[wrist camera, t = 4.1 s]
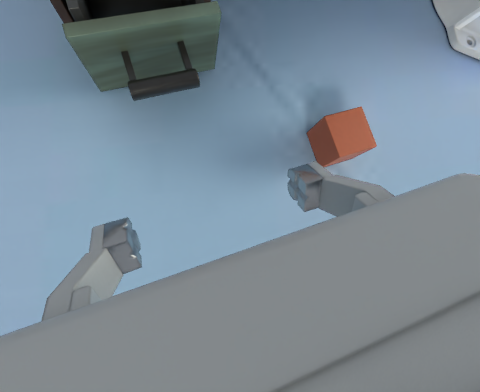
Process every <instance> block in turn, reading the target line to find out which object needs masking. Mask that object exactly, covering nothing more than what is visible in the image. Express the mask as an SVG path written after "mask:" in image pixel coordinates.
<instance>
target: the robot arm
mask: <svg viewBox="0 0 480 392" xmlns="http://www.w3.org/2000/svg"><path fill="white" fill-rule="evenodd" d="M433 3H434V6H435V9H436V11H437V13H438V15H439V17H440V18H441V20H442V22H443V23H444V25H445V27H446V29H447V34H448V38H449V41H450V44H451V46H452V47H453V48H454V49H455V50H456V51H459V52H461V53H463V54H466V55H468V56H471V57H473V58H476V59H478V60H480V0H433ZM288 177H289V178H290V180H289V182H288V191H289V194H290V196H291V197H292V198H293V200H296V201H298V206H299V207H300V208H301V209H302V210H303V211H304V212H306V211H309V210H313V209H316V208H319V209H321V210H324V211H326V212H328V213H330V214H332V215H335V216H337V217H335V218H333V219H330V220H327V221H324V222H321V223H318V224H316V225H313V226H310V227H307V228H304V229H301V230H299V231H296V232H293V233H290V234H287V235H284V236H282V237H279V238H276V239H273V240H270V241H267V242H265V243H262V244H259V245H256V246H253V247H251V248H248V249H245V250H242V251H239V252H237V253H234V254H231V255H228V256H225V257H222V258H220V259H217V260H214V261H211V262H208V263H205V264H203V265H200V266H197V267H194V268H191V269H189V270H186V271H183V272H180V273H177V274H174V275H172V276H169V277H166V278H163V279H160V280H157V281H155V282H152V283H149V284H146V285H143V286H140V287H138V288H135V289H132V290H129V291H126V292H123V293H121V294H118V295H115V296H113V294H114V292H115V290H116V288H117V286H118V284H119V282H120V281H121V279H122V277H123V274H125V273H128V272H130V271H133V270H136V269H138V268H141V267H142V260H141V255H140V253H139V251H140V249H141V248H140V242H139V238H138V235H137V233H136V231H135V230H133V229H132V223H131V221H130V219H129V218H128V217H127V218H123V219H120V220H116V221H112V222H109V223H105V224H102V225H98V226H95V227H93V228H92V233H91V241H90V249H89V253H87V254H85V255H84V256H83V257H82V259H81V260H80V261H79V262H78V263H77V264H76V266H75V267H74V268H73V269H72V270H71V271H70V272H69V274H68V275H67V276H66V277H65V278H64V279H63V281H62V282H61V283H60V284H59V285H58V286H57V287H56V289H55V290H54V291H53V292H52V293H51V294H50V296H49V297H48V298H47V301H46V305H45V309H44V313H43V317H42V321H41V322H39V323H36V324H33V325H30V326H27V327H25V328H22V329H19V330H16V331H13V332H10V333H8V334H5V335H2V336H0V392H480V175H475V174H467V173H462V174H457V175H454V176H451V177H448V178H445V179H442V180H440V181H437V182H434V183H431V184H428V185H426V186H423V187H420V188H417V189H414V190H411V191H409V192H406V193H403V194H400V195H397V196H394V195H392V194H391V193H390V192H388V191H387V190H386V189H384V188H383V187H381V186H380V185H375V184H371V183H367V182H363V181H359V180H355V179H351V178H347V177H343V176H339V175H334V176H333V175H332V174H331V173H330V172H329V171H327V170H326V169H325V168H324V167H323V166H321V165H320V164H319V163H318V162H316V161H313V162H310V163H307V164H305V165H302V166H298V167H295V168H292V169H289V170H288Z"/></svg>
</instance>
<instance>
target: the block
mask: <svg viewBox="0 0 480 392" xmlns="http://www.w3.org/2000/svg"><path fill="white" fill-rule="evenodd" d="M307 136H308V138H309V141H310V144H311V147H312V149H313V152H314V155H315V158H316V160H317V162H318V163H319V164H320V165H321V166H323V167H326V166H330V165H333V164H336V163H339V162H342V161H346V160H349V159H352V158H354V157H356V156H358V155H360V154H362V153H364V152H366V151H368V150H370V149H372V148H374V147H376V146H377V145H376V143H375V140H374V137H373V135H372V132H371V130H370V127H369V124H368V122H367V119H366V117H365V114H364V112H363V109H362V107H358V108H354V109H350V110H347V111H343V112H339V113H335V114H331V115H328V116H324V117H323V118H322V119H321V120H320V121H319V122H318V123H317V124H316V125H315V126H314V127H312V128H311V129H310V130H309V131H308V132H307Z"/></svg>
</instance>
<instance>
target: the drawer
mask: <svg viewBox="0 0 480 392" xmlns="http://www.w3.org/2000/svg"><path fill="white" fill-rule="evenodd" d="M66 2H67V6H68V9H69V11H70V13H71V15H72V16H73V18H74V20H75V22H71V23H64V24H62V26H63V29H64V33H65V36H66V39H67V40H68V42H69V43H70V45H71V46H72V48H73V49H74V51H75V52H76V54H77V56H78V57H79V59H80V60H81V62H82V63H83V65H84V66H85V68H86V70H87V71H88V73H89V74H90V76H91V77H92V79H93V80H94V82H95V83H96V85H97V87H98V88H99V90H100V91H101V92H103V91H108V90H113V89H118V88H123V87H127V86H128V87H129V90H130V93H131V96H132V98H133V100H134V101H136V100H141V99H145V98H150V97H155V96H159V95H164V94H169V93H173V92H178V91H183V90H187V89H192V88H197V87H200V81H199V76H198V73H197V72H202V71H207V70H212V69H215V60H216V52H217V44H218V36H219V27H220V19H221V11H220V8H219V5H218V2H217V1H213V2H206V3H204V0H66Z"/></svg>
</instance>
